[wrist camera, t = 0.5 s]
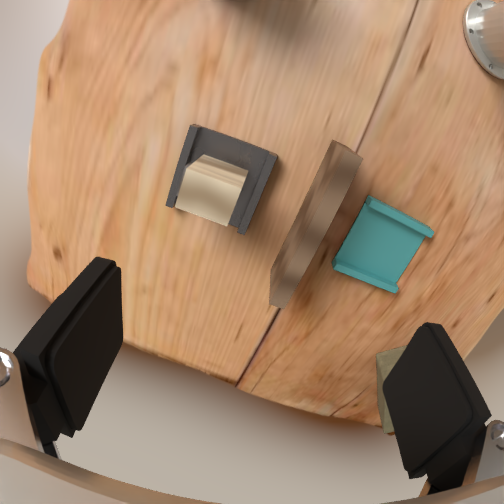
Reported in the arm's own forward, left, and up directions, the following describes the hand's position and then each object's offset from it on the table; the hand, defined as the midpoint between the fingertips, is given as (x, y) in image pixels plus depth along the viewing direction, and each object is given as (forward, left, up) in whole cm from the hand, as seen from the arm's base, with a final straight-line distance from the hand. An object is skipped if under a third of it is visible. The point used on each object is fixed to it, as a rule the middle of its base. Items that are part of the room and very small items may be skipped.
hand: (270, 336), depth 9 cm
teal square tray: (+6, +19, -32) cm, 38 cm away
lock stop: (+6, -5, -32) cm, 33 cm away
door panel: (+6, +7, -32) cm, 33 cm away
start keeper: (+6, -5, -32) cm, 33 cm away
